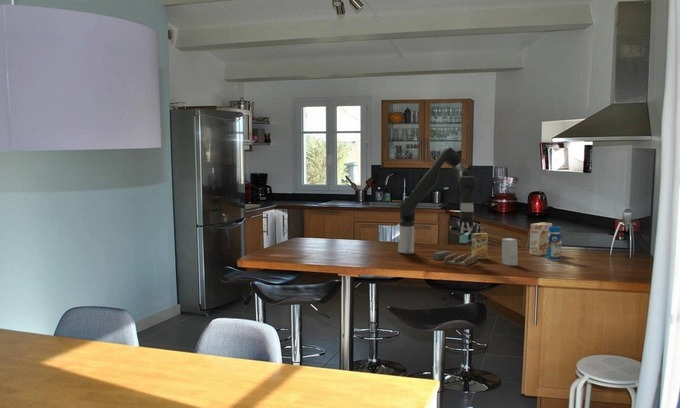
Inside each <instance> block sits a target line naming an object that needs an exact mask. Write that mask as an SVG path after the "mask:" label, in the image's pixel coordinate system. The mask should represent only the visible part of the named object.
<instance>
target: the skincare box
mask: <svg viewBox="0 0 680 408" xmlns="http://www.w3.org/2000/svg"><path fill="white" fill-rule="evenodd" d="M518 255H519V253H518V239H516V238H511V237H510V238H509V237H508V238H506V237H505V238H502V239H501V258H502V259H501V264H503V265H507V266H518V261H519V260H518V259H519V257H518Z"/></svg>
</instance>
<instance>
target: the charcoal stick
mask: <svg viewBox="0 0 680 408" xmlns="http://www.w3.org/2000/svg"><path fill="white" fill-rule="evenodd" d="M450 253H451V252H450V251H449V250H442V251H438V252H437V251H436V252H433V260H435V261H441V260H444V257H447V256H449V255H451V254H450Z"/></svg>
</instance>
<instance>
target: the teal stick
mask: <svg viewBox="0 0 680 408" xmlns="http://www.w3.org/2000/svg"><path fill="white" fill-rule="evenodd" d="M468 234H469V232H464V234H462V235H461V234H460V235H459V243H461V244H467V243H469V242H472V240H473V233H472V239H471V240H468Z"/></svg>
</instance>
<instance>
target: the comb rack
mask: <svg viewBox="0 0 680 408" xmlns="http://www.w3.org/2000/svg"><path fill="white" fill-rule="evenodd" d="M443 260H444V261H443V264H447V265H449V264H450V265H454V266H455V265H456V266H466V267H467V266H469V265H471V264H474V263H477V261H478V259H477V255H474V256H469V257H468V253H464V254H462V255H458V252H454V253H453V254H450V255H449V256H447V257H444V259H443Z"/></svg>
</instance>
